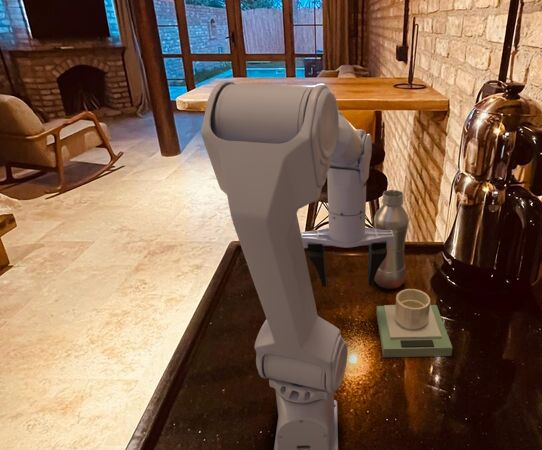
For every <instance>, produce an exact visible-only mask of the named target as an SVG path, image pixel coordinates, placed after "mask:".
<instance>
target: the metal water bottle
mask: <svg viewBox="0 0 542 450" xmlns="http://www.w3.org/2000/svg"><path fill="white" fill-rule="evenodd" d="M381 204H382V205H381V207H379V208H378V209H377V211H376V212H375V214H374V217H373V223H374V224H373V225H374V229H379V230H392V231H393V234H394V245H393V247H387V246H386V248H387V255H386V258H385V259H384V260H383V262H382V263H381V265H380V266H379V268H378V270H377V273H376V275H375V278H374V281H373V282H375V283H376V285H377V286H378V287H380V288H383V289H386V290H393V289H398V288H400V287H401V286H402V285H403V284H404V283H405V280H406V277H407V271H406V270H407V269H406V263H405V245H406V237H407V232H408V229H409V223H410V219H409V214H408V213H407V211H406V209H405V208H404V207H403V204H404V193H403V192H402V191H400V190H398V189H397V190H396V189H387V190H385V191H383V193H382V199H381Z"/></svg>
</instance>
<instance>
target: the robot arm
mask: <svg viewBox="0 0 542 450" xmlns="http://www.w3.org/2000/svg"><path fill="white" fill-rule="evenodd" d="M343 115H344V114H343V112H342V111H341V110H339V105H338V101H337V98H336V95H335V94H334V93H333V91H332V89H331V88H330V86H329V85H327V84H326V83H316V85H287V84H286V85H285V84H253V83H252V84H251V83H250V84H249V83H248V84H246V83H235V82H234V81H233V82H232V81H221V82H219V83H217V84H216V85H215V86H214V87H213V89H212V90H211V92H210V94H209V97H208V99H207V101H206V104H205V111H204V115H203V119H202V124H201V130H200V135H201V139H202V141H203V144H204V147H205V149H206V153H207V155H208V158H209V161H210V163H211V167H212V169H213V172H214V175H215V178H216V181H217V184H218V187H219V189H220V190H221V191H222V192H223V193H224V194H225V195H226V196H227V202H228V208H229V213H230V217H231V221H232V225H233V227H234V230H235V234H236V236H237V238H238V242H239V245H240V247H241V250H242V253H243V256H244V259H245V261H246V264H247V267H248V270H249V274H250V276H251V278H252V282H253V284H254V287H255V290H256V293H257V295H258V299H259V302H260V305H261V307H262V310H263V313H264V316H265V318H266V319H265V320H264V322H263V324H262V325H261V328H260V329H259V332H258V333H257V336H256V339H255V342H254V350H255V354H256V357H255V365H256V369H257V372H258V375H259V376H260V377H261V379H268V383H269V384H268V385H269V387H270V388H273V389H274V391H275V397H276V398H275V399H276V407H277V416H278V417H277V424H276V431H275V440H274V445H273V450H339V432H338V430H339V428H338V423H339V422H338V401H337V400H336V399H335V393H336V391H338V390H339V389H340V387H341V385H342V383H343V381H344V376H345V372H346V368H347V362H348V344H347V342H346V341H345V339H344V337H342V335H341V334H342V333H341V330H340V329H339V328H338V327H337V326H335V325H334V324H333V323H331V322H329V321H327V320H326V319H324V318H323V317H321V316H319V314H318V311H317V305H316V301H315V296H314V292H313V291H314V290H313V285H312V281H311V276H310V272H309V267H308V262H307V257H306V252H305V249H307V256H308V258H309V260H310V261H311V263H312V264H313V266H314V268H315V270H316V272H317V274H318V277H319V279H320V284H321V287H325V288H326V287H327V270H326V262H325V258H326V257H325V247H331V246H332V247H336V248H337V247H338V248H346V249H349V248H356V247H361V246H368V265H367V284H368V286H369V287H371V286H374V282H375V281H374V278H375V275H376V273H377V270H378V268H379V266H380V265H381V263H382V262H383V260H384V259H385V258H386V255H387V248H386V246H387V247H393V245H394V234H393V231H392V230H379V229H375V228H372V227H366V213H367V211H366V210H367V209H366V208H367V181H368V179H369V176H370V163H371V159H372V151H373V143H372V136H371V135H372V134H371V133H367V132H366V130H365V129H357V128H355V127H354V126H353V125H352V124H351V122H350V121H349V120H348V119H347V118H346V117H344V116H343ZM326 180H327V213H328V219H327V220H328V227H327V228H322V229H321V228H320V229H317V230H316V229H315V230H309V231H301V227H300V223H299V222H300V221H299V218H298V211H299V210H300V209H303V208H304V207H306V206H308V205H310V204H312V203H314V202H316V201H318V200H319V199H320V197H321V193H322V189H323V187H324V186H325V184H326Z"/></svg>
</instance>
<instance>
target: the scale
mask: <svg viewBox="0 0 542 450" xmlns="http://www.w3.org/2000/svg"><path fill="white" fill-rule="evenodd" d="M395 307H396V304H385V305H377V306H376V311H375V312H376V320H377V325H378V326H377V327H378V332H379V339H380V346H381V351H382V358H411V357H412V358H415V357H419V358H420V357H421V358H423V357H452V355H453V344H452V342H451V340H450V336H449V334H448V332H447V329H446V327H445V324H444V321H443V319H442V316H441V313H440V310H439V308H438V305H437V304H430V310H429V319H428V323H427V324H426V325H425V326H423V327H422V328H419V329H407V328H405V327H403V326H401V325H400V324H399V323H398V322H397V321H396V319H395Z"/></svg>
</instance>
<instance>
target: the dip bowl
mask: <svg viewBox="0 0 542 450" xmlns="http://www.w3.org/2000/svg"><path fill="white" fill-rule="evenodd" d="M395 305H396V307H395V319H396V321H397V322H398V323H399V324H400V325H401V326H403V327H405V328H407V329H419V328H422V327H423V326H425V325H426V324H427V323H428V319H429V310H430V305H431V298H430V296H429V295H428V294H427V292H424V291H423V290H421V289H416V288H406V289H403V290H400V291H399V292H398V293H396V296H395Z"/></svg>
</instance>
